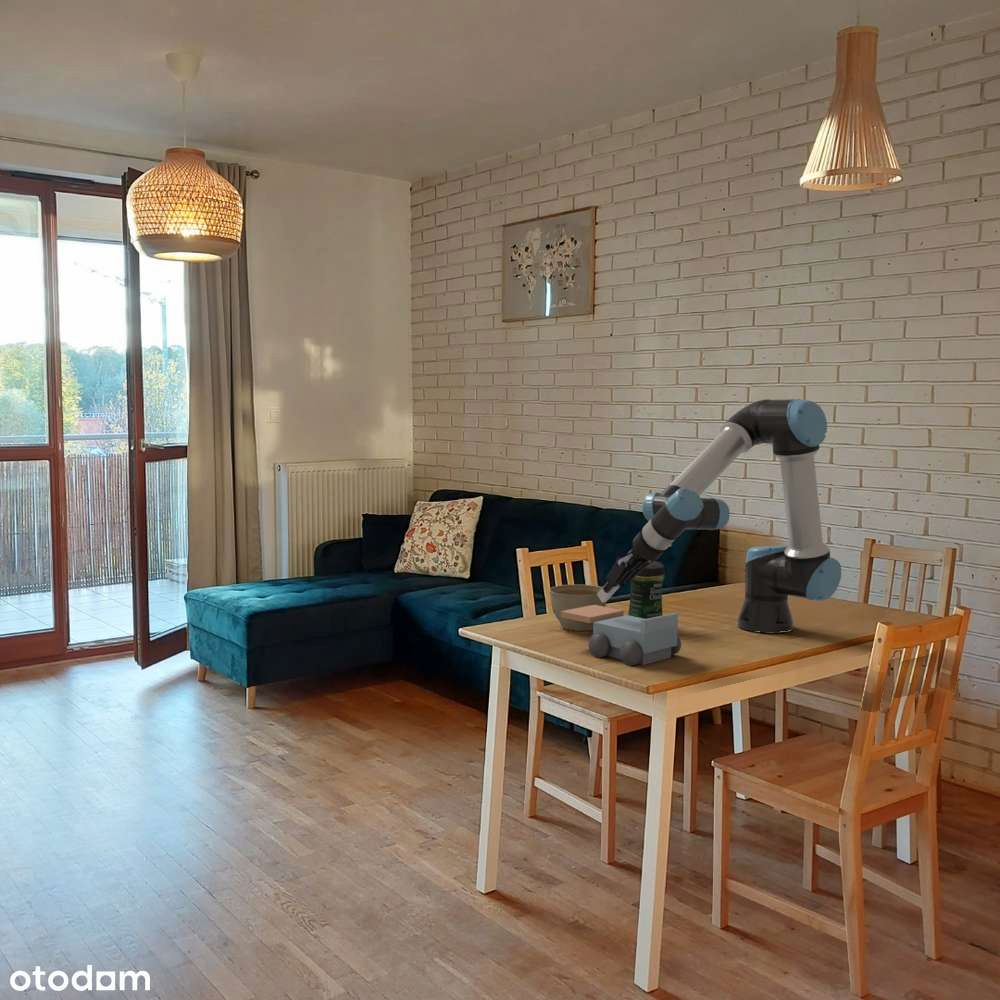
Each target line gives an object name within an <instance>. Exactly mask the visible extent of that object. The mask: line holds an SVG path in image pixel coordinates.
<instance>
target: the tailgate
mask: <svg viewBox="0 0 1000 1000" xmlns="http://www.w3.org/2000/svg"><path fill="white" fill-rule="evenodd" d="M620 616H625V611H624V610H623V609H618V608H612V607H608V606H605V607H603V606H598V605H591V606H585V607H580V608H575V609H570V610H565V611H561V617H563V618H568V619H572V620H577V621H582V622H586V623H593V622H597V621H601V620H606V619H611V618H616V617H620Z"/></svg>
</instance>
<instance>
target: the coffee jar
mask: <svg viewBox="0 0 1000 1000" xmlns="http://www.w3.org/2000/svg"><path fill="white" fill-rule="evenodd" d="M664 579H665V565H664V564H663V562H660V561H656V560H655V561H653V562H652V563H651V564H649V565H648V566H647V567H646V568H645V569H644V570H642V571H641V572H640V573H639V574H638V575H637V576H636V577H635V578H633V579H632V580H631V581H630V598H629V604H628V605H629V607H628V614H627V615H629V616H634V617H639V618H643V619H648V618H652V617H657V616H661V615H664V614H663V593H662V592H663V591H662V590H663V582H664Z"/></svg>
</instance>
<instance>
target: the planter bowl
mask: <svg viewBox="0 0 1000 1000" xmlns="http://www.w3.org/2000/svg"><path fill="white" fill-rule="evenodd" d="M602 587H603V586H599V585H593V584H592V585H591V584H562V585H556V586H552V587H550V588H549V589H548V590H549V597H550V599H549V601H550V604H551V609H552V612H553V614H554V616H555V617H556V619H557V620H558V621H559V624H560V627H561V628H562V627H563V628H565V629H564V630H566V629H569V630H568V631H571V630H575V631H576V632H585V631H586V632H587V631H592V630H593V623H586V622H582V621H577V620H572V619H568V618H563V617H561V611H565V610H570V609H575V608H580V607H585V606H591V605H598V606H603V607H607V601H606V602H603V603H602V602H601V600H600V599H599V597H598V595H597V593H598V592H599V591H600V590H601V589H602ZM563 628H562V629H563ZM575 631H574V632H575Z"/></svg>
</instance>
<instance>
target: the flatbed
mask: <svg viewBox="0 0 1000 1000" xmlns="http://www.w3.org/2000/svg"><path fill="white" fill-rule="evenodd" d="M678 618H679V613H678V612H671V613H666V614H663V615H661V616H657V617H652V618H648V619H643V618H639V617H634V616H629V615H628V614H627V615H626V614H624V616H620V617H616V618H611V619H606V620H601V621H597V622H593V629H592V630H593V631H592V632H593V633H592V635H591V636H590V637H589V639H588V650H589V652H590V653H591V655H592V656H593V657H595V658H604V657H608V658H609V657H610V658H614V659H618V660H621V661H622V662H623V663H624V664H625V665H627V666H629V667H630V666H635V665H641V666H644V665H648V664H652V663H655V662H660V661H663V660H666V659H670V658H672V656H673V655H676V654H678V653H679V652H680V651H681V647H682V641H681V638H680V637H679V635H678V628H679V625H678V623H679V619H678Z"/></svg>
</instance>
